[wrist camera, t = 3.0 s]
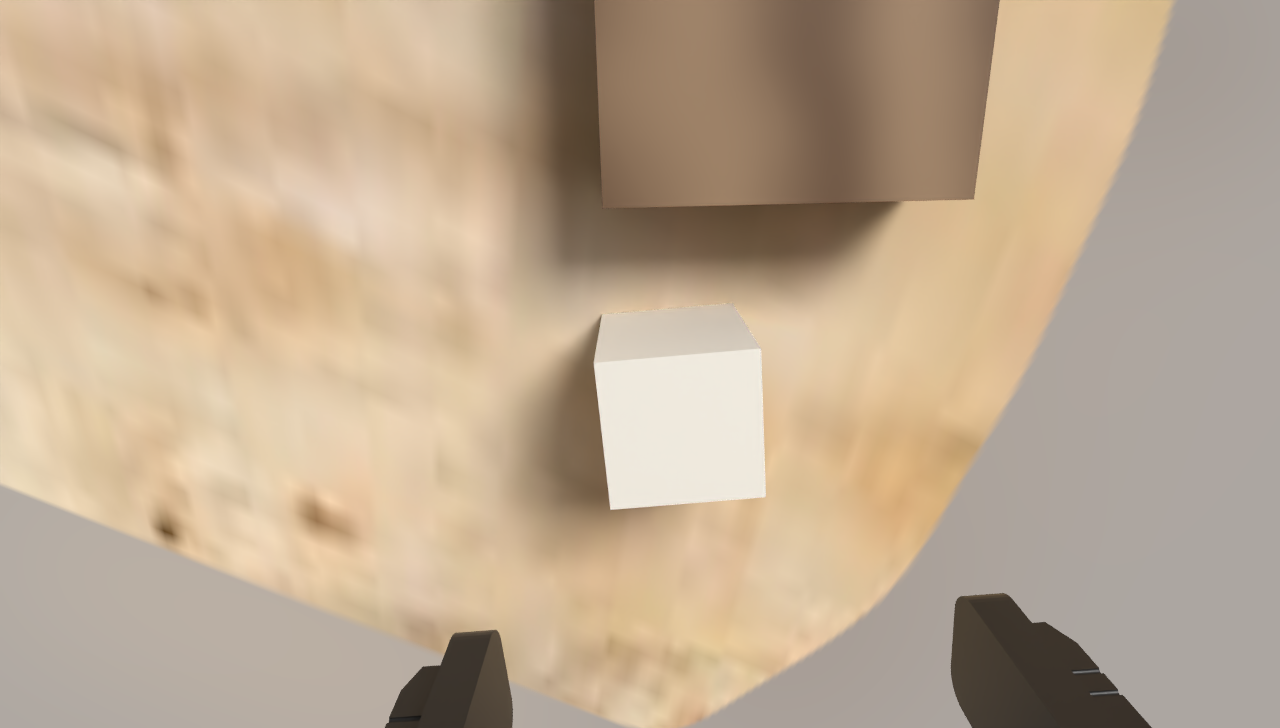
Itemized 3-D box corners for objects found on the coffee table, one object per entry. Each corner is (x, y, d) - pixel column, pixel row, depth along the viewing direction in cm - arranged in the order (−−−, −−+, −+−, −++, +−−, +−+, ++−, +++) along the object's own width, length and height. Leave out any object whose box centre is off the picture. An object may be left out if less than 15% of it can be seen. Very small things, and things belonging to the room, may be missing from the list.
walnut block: (608, 195, 25) (602, 208, 20) (595, -164, 21) (584, -251, 16) (908, 188, 25) (973, 199, 20) (944, -172, 21) (1033, -262, 16)
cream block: (614, 433, 27) (610, 509, 22) (602, 314, 26) (593, 362, 20) (737, 422, 27) (766, 497, 22) (732, 302, 26) (761, 348, 20)
